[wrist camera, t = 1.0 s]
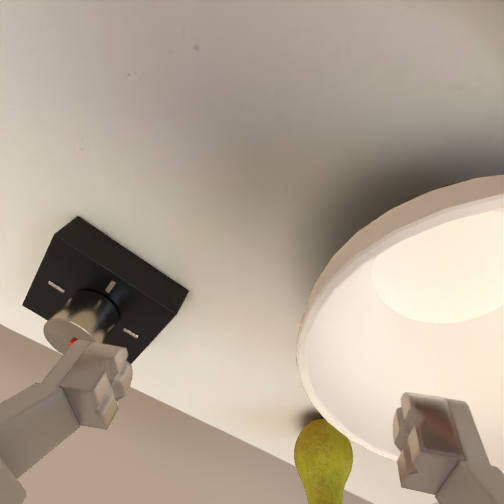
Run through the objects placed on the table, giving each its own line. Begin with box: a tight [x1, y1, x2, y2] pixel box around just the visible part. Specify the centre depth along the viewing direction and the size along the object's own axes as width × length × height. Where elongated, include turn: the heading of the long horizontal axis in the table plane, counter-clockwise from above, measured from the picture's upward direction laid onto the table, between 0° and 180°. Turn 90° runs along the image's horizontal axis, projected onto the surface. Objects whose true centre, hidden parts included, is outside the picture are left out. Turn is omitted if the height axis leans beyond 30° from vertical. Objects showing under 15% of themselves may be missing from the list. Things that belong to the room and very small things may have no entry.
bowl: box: [296, 175, 504, 474], centre depth 21 cm, size 20×20×10 cm
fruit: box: [294, 419, 353, 504], centre depth 33 cm, size 6×6×12 cm
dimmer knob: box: [44, 290, 119, 354], centre depth 28 cm, size 4×4×4 cm
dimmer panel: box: [22, 216, 189, 364], centre depth 31 cm, size 11×10×3 cm
